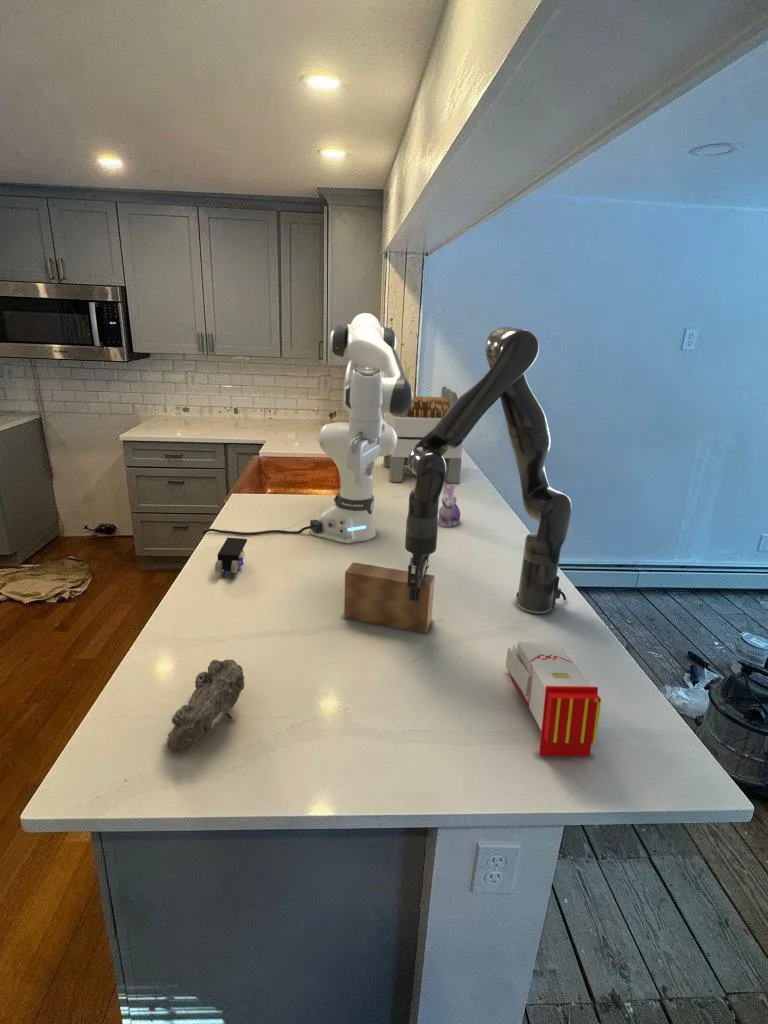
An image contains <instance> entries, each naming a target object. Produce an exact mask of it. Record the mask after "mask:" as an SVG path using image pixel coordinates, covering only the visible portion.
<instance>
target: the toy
mask: <svg viewBox="0 0 768 1024" xmlns="http://www.w3.org/2000/svg"><path fill="white" fill-rule="evenodd" d="M511 646H512V647H508V648H507V653H506V658H505V659H506V660H505V668H506V669H507V671H508V675H509V676H510V677H511V679H512V681H513V682H514V684H515V686H516V688H517V689H518V691H519V693H520V694H521V696H522V698H523V700H524V702H525V703H526V705H527V706H528V708H529V710H530V712H531V715H532V716H533V718H534V720H535V722H536V723H537V724H536V725H537V726H538V727H539V730H540V731H541V733H540V739H539V740H540V741H539V749H538V751H539V752H538V754H539V756H543V757H548V756H550V757H551V756H552V757H553V756H554V757H568V756H569V757H591V751H592V744H596V743H597V734H598V726H599V717H600V710H601V702H602V698H601V697H600V696H599V694H598V693H599V688H598V686H592V684H590V682H589V681H588V680H587V678H586V677H585V676H584V675H583V673H582V672H581V671H580V669H579V668H578V667H577V665H576V664H575V663H574V661H573V660H572V659H571V658H570V656H569V655H568V654H567V652H566V651H565V649H564V647H562V645H561V644H560V643H559V642H553V641H551V642H549V641H548V642H547V641H546V642H545V641H517V642H512V645H511Z"/></svg>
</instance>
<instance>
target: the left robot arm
mask: <svg viewBox="0 0 768 1024" xmlns="http://www.w3.org/2000/svg"><path fill="white" fill-rule="evenodd" d="M397 343H398V341H397V337H396V333H395V331H394V329H392V328H389V327H387V326H383V327H382V325H381V323H380V321H379V319H378V318H377V317H376V316H375V315H373V314H372V313H368V312H363V313H359V314H357V315H355V317H354V318H353V319H352V320H351V323H350V324H349V323H348V324H346V323H340V324H336V325H335V326H334V327H333V329H332V330H331V333H330V336H329V345H330V348H331V352H332V353H333V354H334V356H337V357H340V358H344V357H345V358H349V359H350V360H349V361H348V362H347V366H346V368H345V369H346V370H345V375H344V382H343V397H342V398H343V399H342V400H343V401H342V405H343V408H344V409H343V410H344V411H345V412H346V413H347V414H348V415H349V416H348V422H347V421H346V422H343V421H337V422H331V423H326V424H324V425H323V426H322V427H321V429H320V431H319V433H318V444H319V447H320V448H321V450H322V451H323V453H324V454H325V455H327V456H329V458H330V459H332V461H333V462H334V464H335V465H336V467H337V470H338V474H339V483H340V484H339V485H340V488H339V489H340V490H339V491H338V492H337V494H336V495H335V496H334V497H333V502H334V504H333V505H331V506H329V507H328V508H326V509H325V510H323V512H321V514H320V515H319V517H318V519H310V520H309V525H307V526H304V527H301V528H300V529H299V530H295V531H293V530H291V531H290V530H282V529H269V530H268V529H267V530H261V531H249V532H248V531H247V532H246V531H233V530H225V529H224V530H223V529H216V528H207V529H205V530H203V531H202V533H201V534H202V535H205V534H207V533H209V532H213V533H214V532H215V533H219V534H230V535H239V536H256V535H264V534H273V533H275V534H276V533H278V534H290V535H298V534H301V533H303V532H304V531H306V530H309V529H310V533H311V536H315V537H319V538H323V539H326V540H330V541H336V542H339V543H343V544H352V543H357V542H365V541H368V540H372V539H373V538H375V537H376V535H377V532H376V528H375V523H374V513H373V512H374V509H375V496H374V467H375V463H376V462H375V461H376V460H377V459H378V458H379V457H384V456H387V455H391V454H392V453H393V451H394V450H395V448H396V446H397V435H396V432H395V431H394V429H393V428H392V427H391V426H389V425H388V424H387V423H386V420H384V419H383V414H386V413H391V414H398V415H401V414H403V413H404V412H406V411H407V410H408V409H409V408H410V407H411V404H412V399H413V395H414V393H413V389H412V385H411V383H410V381H409V380H408V378H407V376H406V374H405V371H404V368H403V365H402V362H401V360H400V357H399V355H398V353H397V351H396V349H397ZM382 373H384V374H386V375H387V377H383V374H382Z"/></svg>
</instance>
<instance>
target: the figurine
mask: <svg viewBox="0 0 768 1024" xmlns="http://www.w3.org/2000/svg"><path fill="white" fill-rule="evenodd" d="M455 488H456V484H455V483H451V486H450V487H448V486H447V484H445V483H444V485H443V488H442V491H443V495H442V497H441V503H442V506H441V507H439V509H438V524H439V525H440V526H441V527H446V528H449V527H455V526H457V525H458V524H459V523H460V518H461V511H460V508H459V506H458V504H456V503H457V501H458V500H457V497H456V495H455Z"/></svg>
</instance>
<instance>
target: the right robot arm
mask: <svg viewBox="0 0 768 1024" xmlns="http://www.w3.org/2000/svg"><path fill="white" fill-rule="evenodd" d="M484 347H485V349H484V350H485V357H486V360H487V361H486V362H487V363H488V366H489V368H490V369H489V370H488V371H487V373H486V374H485V375H484V376H483V377H482V378H481V379H480V380H479V381H478V382H477V383H475V385H473V386H472V387H471V388H470V389H468V390H467V391H466V392H464V393H463V394H462V395H460V396H459V397H457V398H458V399H457V400H456V401H455V402H454V403H453V404H452V405H451V407H450V408H449V409H448V410H447V412H446V413H445V414H444V416H443V417H442V418H441V420H440V421H439V422H438V424H437V425H436V427H435V428H434V429H433V430H432V431H430V432H429V433H428V434H427V435H426V436H425V437H424V438H423V439H422V440H420V441H419V442H418V443H417V444H416V446H415V447H414V448H413V449H412V451H411V453H410V455H409V457H408V467H407V468H408V469H409V470H410V472H411V473H412V474H413V475H415V476H416V479H415V480H416V481H415V485H414V486H415V487H413V488H412V489H411V490H410V492H409V495H408V496H409V497H408V507H407V508H408V509H407V517H406V523H405V539H404V548H405V550H406V551H407V552H408V553H410V554H412V557H410V559H409V564H408V566H407V571H408V584H407V587H409V588H410V593H409V600H411V601H418V599H419V588H420V582H421V579H422V578H423V577H424V574H428V569H429V567H430V557H431V555H432V554H434V553H435V552H436V551H437V545H438V544H437V543H438V532H439V522H438V518H439V509H440V497H441V494H442V491H443V485H444V484H445V481H446V479H445V477H446V463H445V460H444V458H443V457H442V456H443V455H444V454H445V453H446V452H447V451H448V450H449V449H455V448H457V447H459V446H460V444H461V443H462V442H464V440H466V438H467V437H468V435H469V434H470V433H471V431H472V430H473V429H474V428H475V427H476V425H477V424H478V422H479V421H480V419H481V418H482V417H483V416H484V415H485V414H486V412H487V411H489V409H490V408H491V407H492V406H494V404H495V403H496V402H497V401H498V400H499V399H500V403H501V407H502V411H503V415H504V418H505V422H506V423H505V424H506V427H507V432H508V436H509V440H510V445H511V447H512V450H513V454H514V459H515V463H516V468H517V471H518V475H519V481H520V488H521V496H522V498H521V499H522V503H523V504H522V505H523V508H524V511H525V513H526V514H527V515H528V517H529V518H531V519H532V520H534V521H535V522H538V530H537V531H534V532H530V533H528V534H527V535H526V537H525V540H524V548H523V555H522V561H521V562H522V563H521V568H520V569H521V570H520V577H519V583H518V591H517V592H516V594H515V595H516V596H515V599H516V601H515V602H516V606H517V607H518V608H519V609H520V610H521V611H523V612H527V613H530V614H535V615H544V614H548V613H550V612H551V611H552V610H553V609H555V608H556V603H557V599H558V600H559V599H561V597H562V599H563V601H567V596H566V594H565V593H564V592H563V591H562V588H560V587H559V581H560V576H559V575H558V569H559V564H560V558H561V557H560V556H561V552H562V546H563V545H564V543H565V541H566V538H567V535H568V531H569V526H570V522H571V517H572V511H573V505H572V501H571V498H570V497H569V496H568V495H566V494H565V493H563V492H561V491H559V490H556V489H554V488H552V487H551V486H550V483H549V481H548V477H547V472H546V466H545V465H546V461H547V458H548V455H549V452H550V448H551V434H550V429H549V425H548V421H547V418H546V414H545V412H544V410H543V408H542V406H541V404H540V403H539V401H538V399H537V398H536V396H535V394H534V393H533V391H532V389H531V387H530V385H529V383H528V381H527V378H526V372H527V371H528V370H529V369H530V368H531V367H532V366H533V364H534V363H535V361H536V360H537V358H538V356H539V352H540V351H539V350H540V344H539V341H538V337H537V336H536V335H535V333H533V332H532V331H530V330H527V329H523V328H517V327H509V326H500V327H497V328H495V329H493V330H492V331H491V332H490V334H489V335H488V336H487V339H486V342H485V346H484ZM462 444H463V443H462ZM419 573H421V574H420V575H419ZM413 580H415V581H416V582H412V581H413Z"/></svg>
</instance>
